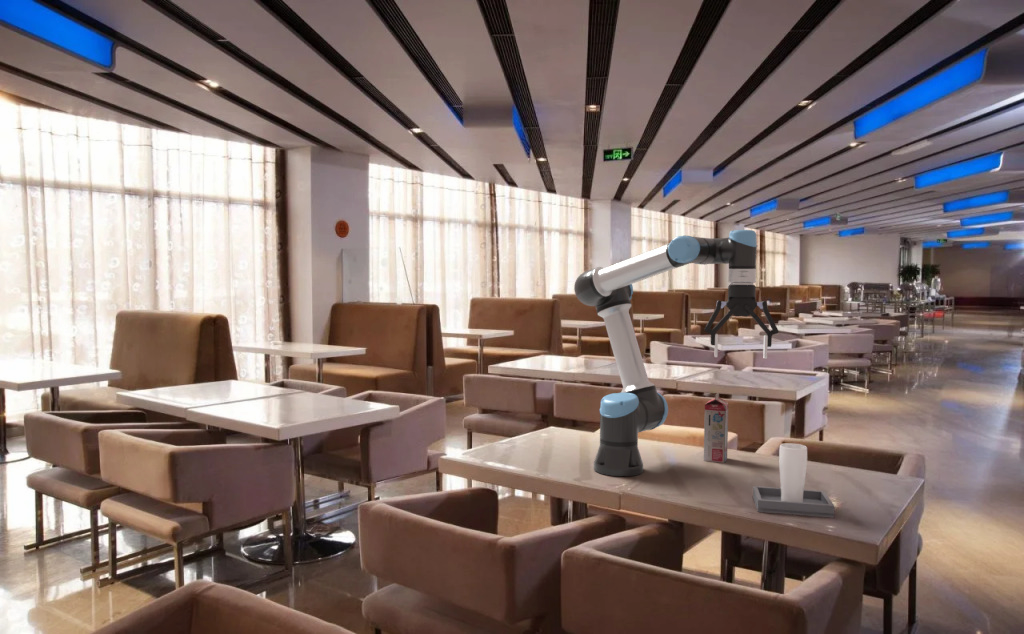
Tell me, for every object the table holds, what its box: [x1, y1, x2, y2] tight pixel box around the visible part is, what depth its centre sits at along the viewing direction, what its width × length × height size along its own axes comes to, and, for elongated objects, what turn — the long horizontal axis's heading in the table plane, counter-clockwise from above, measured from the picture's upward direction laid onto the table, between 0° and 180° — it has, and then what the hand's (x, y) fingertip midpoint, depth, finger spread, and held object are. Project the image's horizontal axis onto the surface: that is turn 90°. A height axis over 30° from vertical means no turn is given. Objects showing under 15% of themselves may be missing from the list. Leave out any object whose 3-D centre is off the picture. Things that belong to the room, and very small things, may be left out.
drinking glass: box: [778, 442, 808, 502], centre depth 182 cm, size 7×7×15 cm
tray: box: [752, 485, 835, 519], centre depth 183 cm, size 18×13×3 cm
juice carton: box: [703, 391, 729, 464], centre depth 231 cm, size 7×7×22 cm
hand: (740, 357), depth 203 cm, fingers open, 13 cm apart
